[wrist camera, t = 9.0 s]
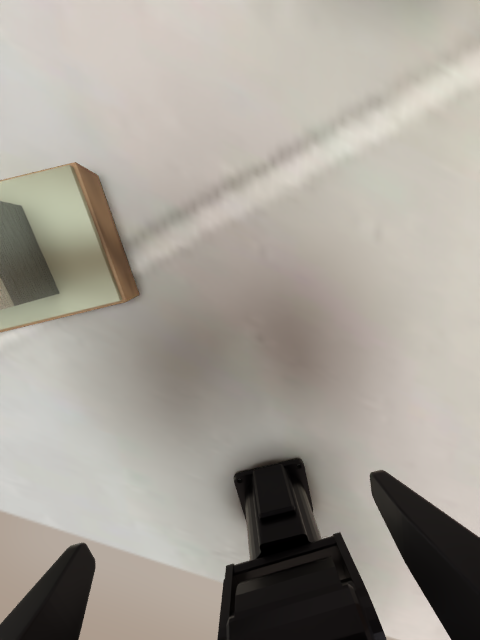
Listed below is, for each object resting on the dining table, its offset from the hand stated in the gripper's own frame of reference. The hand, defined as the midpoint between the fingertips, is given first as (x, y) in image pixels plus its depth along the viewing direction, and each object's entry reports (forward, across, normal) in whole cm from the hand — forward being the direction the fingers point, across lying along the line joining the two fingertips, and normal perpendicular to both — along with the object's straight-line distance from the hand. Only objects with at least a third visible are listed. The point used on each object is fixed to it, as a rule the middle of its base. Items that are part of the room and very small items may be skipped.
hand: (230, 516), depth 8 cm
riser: (+13, +11, -10) cm, 20 cm away
